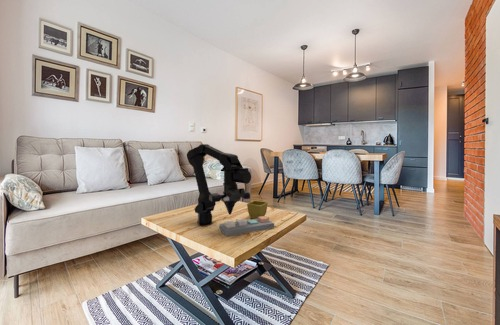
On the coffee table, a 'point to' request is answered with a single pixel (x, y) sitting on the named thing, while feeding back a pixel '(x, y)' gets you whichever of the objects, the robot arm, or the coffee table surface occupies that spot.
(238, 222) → the key
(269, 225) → the keyguard frame
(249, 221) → the key
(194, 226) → the coffee table surface
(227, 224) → the key
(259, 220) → the key
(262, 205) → the flower pot
